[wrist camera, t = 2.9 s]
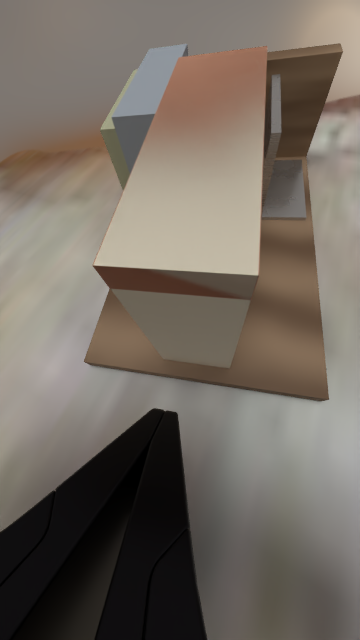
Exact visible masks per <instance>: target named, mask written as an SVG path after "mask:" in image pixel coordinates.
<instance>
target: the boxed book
mask: <svg viewBox="0 0 360 640" xmlns="http://www.w3.org/2000/svg"><path fill="white" fill-rule="evenodd" d="M266 68H267V46H263V47H257V48H256V47H255V48H248V49H240V50H232V51H224V52H217V53H209V54H201V55H194V56H185V57H179V58H178V60H177V63H176V65H175V67H174V70H173V72H172V75H171V77H170V79H169V82H168V84H167V87H166V89H165V92H164V94H163V96H162V99H161V101H160V104H159V106H158V108H157V111H156V113H155V116H154V118H153V120H152V123H151V125H150V128H149V130H148V133H147V135H146V137H145V140H144V142H143V145H142V147H141V149H140V152H139V154H138V157H137V159H136V161H135V164H134V166H133V169H132V171H131V174H130V176H129V178H128V181H127V183H126V186H125V188H124V190H123V193H122V195H121V198H120V200H119V202H118V205H117V207H116V210H115V212H114V215H113V217H112V219H111V222H110V224H109V227H108V229H107V231H106V234H105V236H104V239H103V241H102V244H101V246H100V248H99V251H98V253H97V256H96V258H95V260H94V263H93V267H94V268H95V269H96V271H97V272H98V273H99V275H100V276H101V277H102V279H103V280H104V281H105V283H106V284H107V285H108V287H109V288H110V289H111V290H112V291H113V293H114V294H115V295H116V297H117V298H118V299H119V301H120V302H121V303H122V305H123V306H124V307H125V309H126V310H127V311H128V313H129V314H130V315H131V317H132V318H133V319H134V321H135V322H136V323H137V325H138V326H139V327H140V329H141V330H142V331H143V333H144V334H145V335H146V337H147V338H148V339H149V341H150V342H151V343H152V345H153V346H154V347H155V349H156V350H157V351H158V353H159V354H160V355H161V357H162V358H163V359H166V360H173V361H180V362H187V363H194V364H201V365H209V366H216V367H223V368H230V366H231V363H232V359H233V356H234V353H235V350H236V346H237V343H238V340H239V337H240V333H241V330H242V327H243V324H244V320H245V317H246V314H247V311H248V307H249V304H250V301H251V300H252V297H253V293H254V290H255V287H256V284H257V281H258V277H259V265H260V237H261V209H262V181H263V152H264V124H265V96H266Z"/></svg>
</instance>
